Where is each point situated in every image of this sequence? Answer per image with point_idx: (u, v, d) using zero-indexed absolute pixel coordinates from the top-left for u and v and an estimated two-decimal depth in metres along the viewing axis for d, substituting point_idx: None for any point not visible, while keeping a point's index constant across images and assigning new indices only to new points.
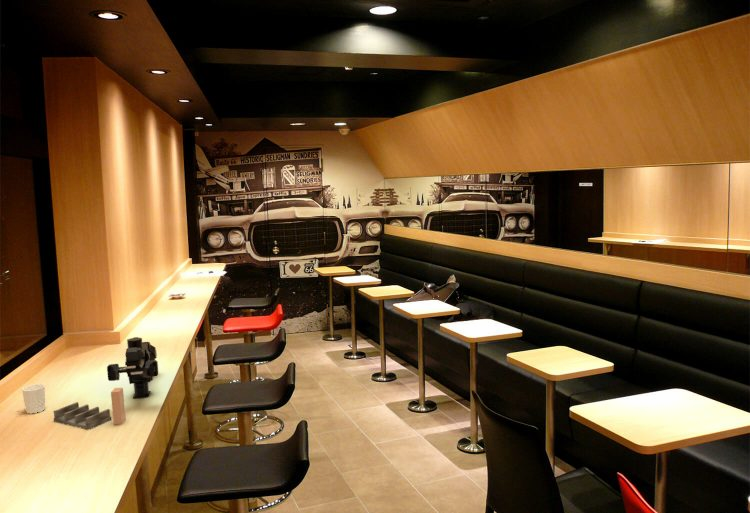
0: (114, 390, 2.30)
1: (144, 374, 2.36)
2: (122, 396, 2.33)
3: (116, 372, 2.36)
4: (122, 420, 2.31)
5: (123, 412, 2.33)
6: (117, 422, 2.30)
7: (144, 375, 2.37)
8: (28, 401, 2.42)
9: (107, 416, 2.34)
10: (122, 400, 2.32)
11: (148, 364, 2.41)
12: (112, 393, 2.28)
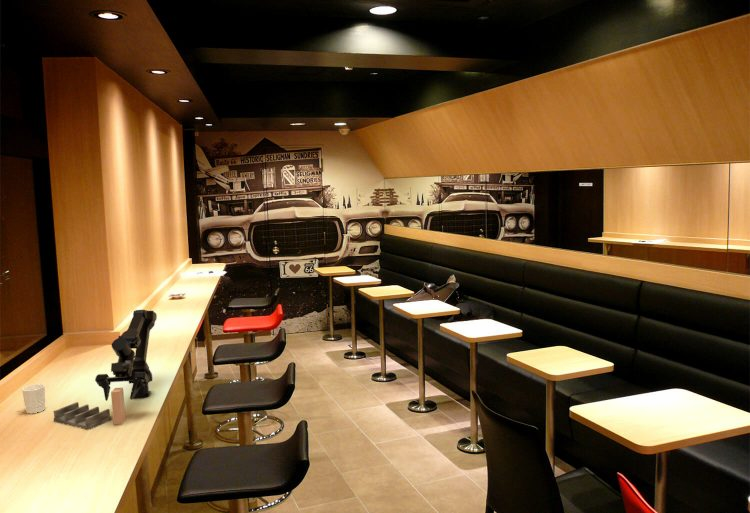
0: (114, 390, 2.30)
1: (132, 396, 2.33)
2: (122, 396, 2.33)
3: (105, 390, 2.33)
4: (122, 420, 2.31)
5: (123, 412, 2.33)
6: (117, 422, 2.30)
7: (133, 396, 2.34)
8: (28, 401, 2.42)
9: (107, 416, 2.34)
10: (122, 400, 2.32)
11: (136, 381, 2.35)
12: (112, 393, 2.28)
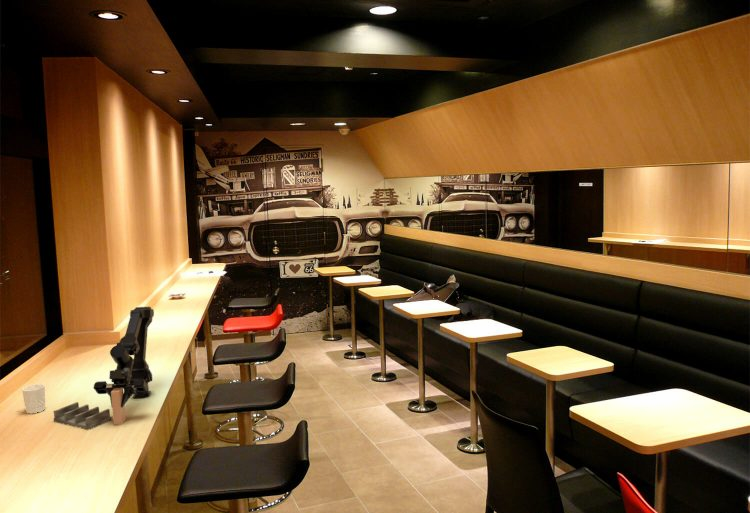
0: (114, 390, 2.30)
1: (123, 404, 2.31)
2: (122, 396, 2.33)
3: None
4: (122, 420, 2.31)
5: (123, 412, 2.33)
6: (117, 422, 2.30)
7: (123, 404, 2.31)
8: (28, 401, 2.42)
9: (107, 416, 2.34)
10: None
11: (127, 388, 2.32)
12: (112, 393, 2.28)
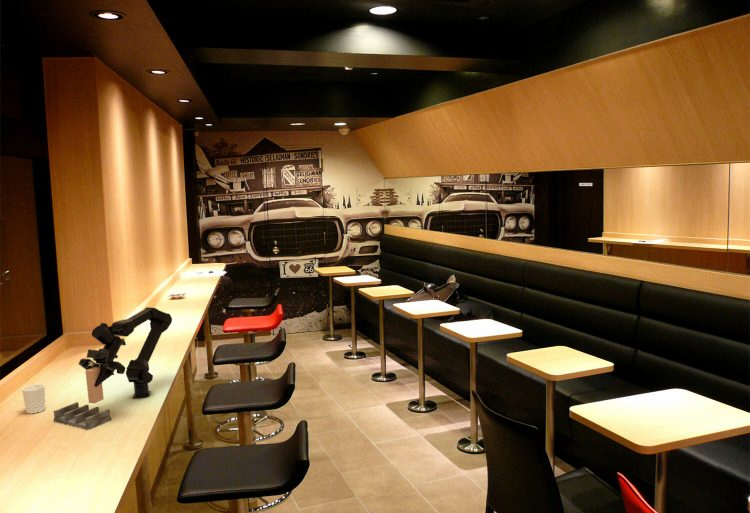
0: (90, 369, 2.35)
1: (97, 384, 2.34)
2: None
3: None
4: (96, 399, 2.35)
5: (99, 391, 2.36)
6: (91, 400, 2.35)
7: (98, 384, 2.35)
8: (28, 401, 2.42)
9: (107, 416, 2.34)
10: None
11: (102, 369, 2.35)
12: (86, 372, 2.33)
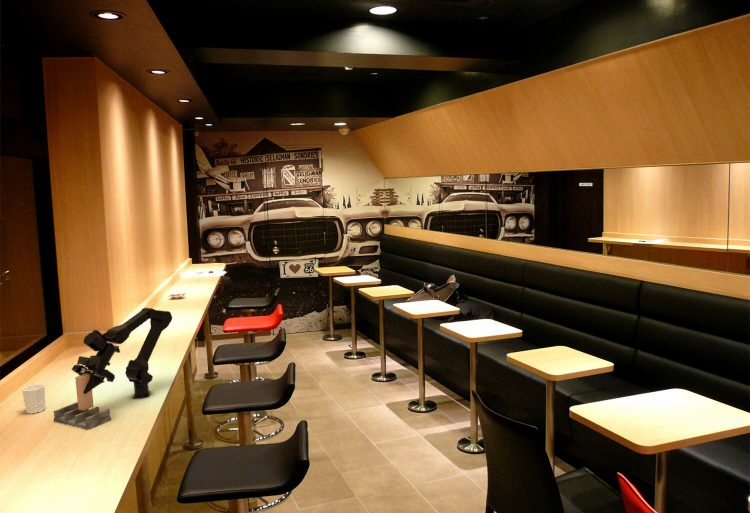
0: (80, 376, 2.35)
1: (86, 391, 2.34)
2: None
3: None
4: (85, 406, 2.34)
5: (88, 399, 2.36)
6: (80, 407, 2.34)
7: (87, 391, 2.34)
8: (28, 401, 2.42)
9: (107, 416, 2.34)
10: None
11: (91, 376, 2.34)
12: (76, 378, 2.33)
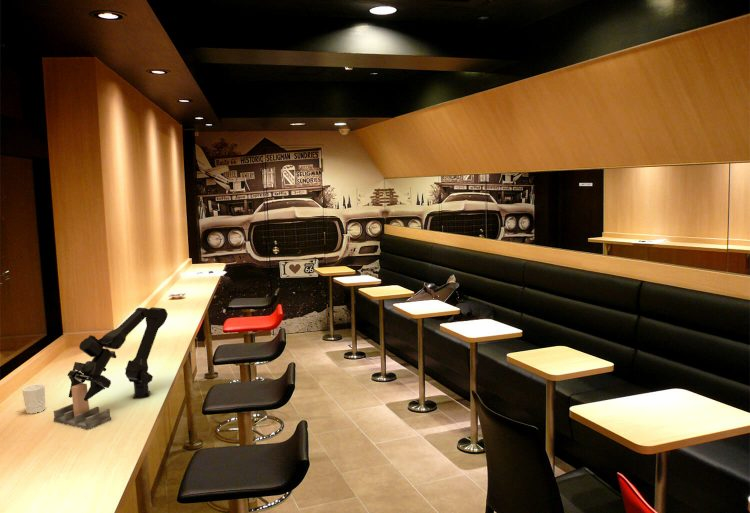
0: (76, 385, 2.33)
1: (86, 398, 2.31)
2: (85, 392, 2.34)
3: None
4: None
5: (84, 408, 2.34)
6: None
7: (88, 398, 2.31)
8: (28, 401, 2.42)
9: (107, 416, 2.34)
10: (84, 396, 2.34)
11: (92, 383, 2.32)
12: (72, 388, 2.32)
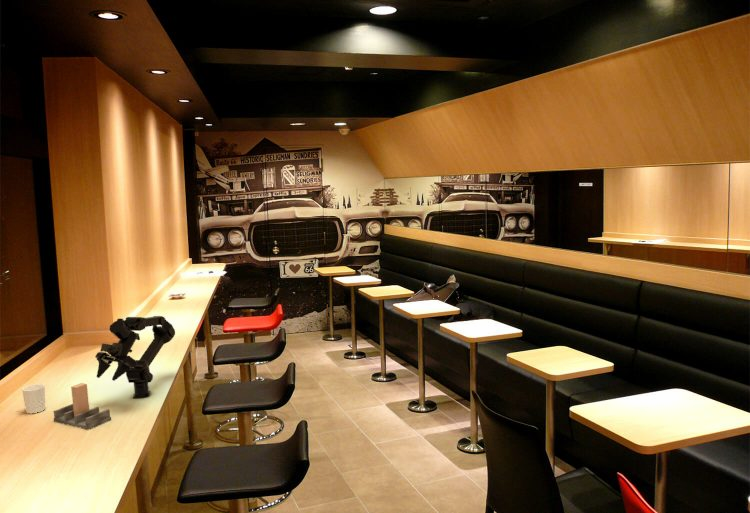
0: (76, 385, 2.33)
1: (114, 378, 2.40)
2: (85, 392, 2.34)
3: (99, 367, 2.46)
4: None
5: (84, 408, 2.34)
6: None
7: (115, 378, 2.41)
8: (28, 401, 2.42)
9: (107, 416, 2.34)
10: (84, 396, 2.34)
11: (119, 363, 2.41)
12: (72, 388, 2.32)
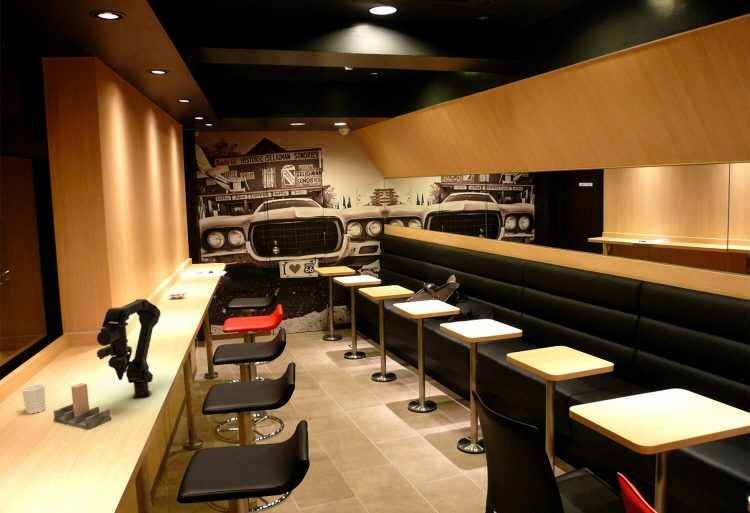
0: (76, 385, 2.33)
1: (119, 378, 2.41)
2: (85, 392, 2.34)
3: None
4: None
5: (84, 408, 2.34)
6: None
7: (121, 377, 2.41)
8: (28, 401, 2.42)
9: (107, 416, 2.34)
10: (84, 396, 2.34)
11: None
12: (72, 388, 2.32)
